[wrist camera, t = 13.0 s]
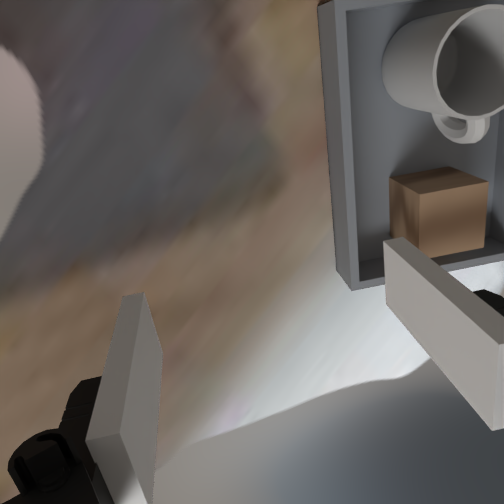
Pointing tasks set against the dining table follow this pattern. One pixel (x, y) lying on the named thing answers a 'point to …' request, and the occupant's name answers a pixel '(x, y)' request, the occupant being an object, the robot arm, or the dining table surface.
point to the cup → (450, 69)
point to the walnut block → (439, 210)
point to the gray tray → (390, 138)
